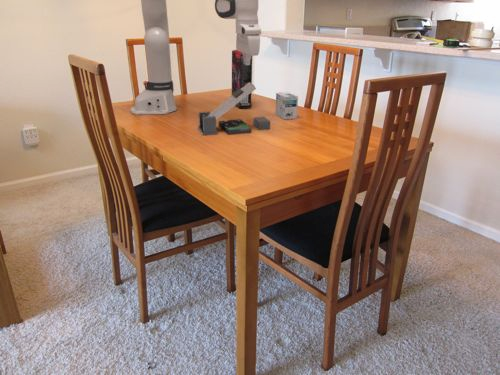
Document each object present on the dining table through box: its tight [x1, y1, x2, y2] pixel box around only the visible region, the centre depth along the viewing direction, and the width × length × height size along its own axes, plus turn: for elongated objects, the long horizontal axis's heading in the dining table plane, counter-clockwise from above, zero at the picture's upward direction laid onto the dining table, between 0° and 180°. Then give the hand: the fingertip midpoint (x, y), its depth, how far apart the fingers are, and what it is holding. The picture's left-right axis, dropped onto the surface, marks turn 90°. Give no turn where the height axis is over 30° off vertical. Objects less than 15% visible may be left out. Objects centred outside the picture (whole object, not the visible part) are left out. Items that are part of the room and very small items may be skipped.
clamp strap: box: [205, 82, 257, 121], centre depth 173 cm, size 25×6×3 cm
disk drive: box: [218, 118, 252, 136], centre depth 178 cm, size 10×3×15 cm
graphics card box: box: [231, 49, 253, 109], centre depth 213 cm, size 17×7×27 cm, turn 17°
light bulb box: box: [275, 91, 299, 120], centre depth 196 cm, size 11×7×11 cm, turn 22°
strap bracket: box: [197, 110, 271, 136], centre depth 177 cm, size 30×11×7 cm, turn 107°
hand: (247, 64), depth 169 cm, fingers closed
